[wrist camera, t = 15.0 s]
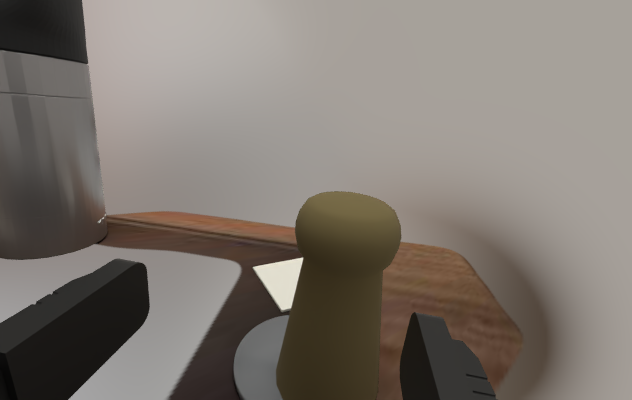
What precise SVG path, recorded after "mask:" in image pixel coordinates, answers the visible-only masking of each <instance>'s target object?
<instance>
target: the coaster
mask: <svg viewBox="0 0 632 400" xmlns="http://www.w3.org/2000/svg"><path fill="white" fill-rule="evenodd" d="M288 319H289V315H286V316H280V317H276V318H273V319H270V320H267V321H265V322H263V323H261V324H259V325H258V326H256V327H255V328H254V329H252V330H251V331H250V332H249V333H248V334H247V335H246V336H245V337H244V338H243V340H242V341H241V343H240V345H239V346H238V349H237V351H236V354H235V358H234V383H235V387H236V391H237V393H238V395H239V397H240V399H241V400H283V399H282V397H281V394H280V392H279V389H278V387H277V385H276V368H277V364H278V360H279V356H280V352H281V347H282V343H283V339H284V335H285V331H286V327H287V323H288Z"/></svg>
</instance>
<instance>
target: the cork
mask: <svg viewBox="0 0 632 400" xmlns="http://www.w3.org/2000/svg"><path fill="white" fill-rule="evenodd" d="M295 234H296V240H297V245H298V249H299V251H300V253H301V254H302V256H303V262H302V266H301V270H300V274H299V278H298V282H297V286H296V290H295V294H294V298H293V302H292V307H291V311H290V315H289V319H288V323H287V327H286V331H285V335H284V339H283V343H282V347H281V352H280V356H279V360H278V364H277V368H276V385H277V387H278V389H279V392H280V394H281V397H282V399H283V400H375V399H376V396H377V393H378V378H379V352H380V327H381V301H382V276H383V270H384V269H385V268H386V267H388V266H389V265H390V264H391V262H392V260H393V258H394V256H395V254H396V253H397V251H398V249H399V245H400V240H401V226H400V223H399V220H398V217H397V215H396V212H395V210H393V209H392V208H391V207H390V206H389V205H387V204H386V203H385V202H383V201H381V200H379V199H377V198H373V197H371V196H367V195H363V194H358V193H353V192H338V191H335V192H324V193H320V194H317V195H315V196H313V197H311V198H309V199H308V200H307V201H306V203H305V204H304V205H303V206H302V208H301V209H300V211H299V214H298V216H297V220H296V226H295Z"/></svg>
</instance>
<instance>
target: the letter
mask: <svg viewBox="0 0 632 400" xmlns="http://www.w3.org/2000/svg"><path fill="white" fill-rule="evenodd" d="M302 262H303V258H299V259H293V260H288V261H283V262H277V263H272V264H266V265H261V266H256V267H253V270H254V271H255V273H256V274H257V276H258V277H259V279H260V280H261V282H262V283H263V285H264V287H265V288H266V290H267V291H268V293H269V294H270V296H271V297H272V299H273V300H274V302H275V303H276V305H277V306H278V308H279V309H280V311H281V312H286V311H289V310H291V307H292V302H293V298H294V294H295V290H296V286H297V282H298V278H299V274H300V270H301V266H302Z"/></svg>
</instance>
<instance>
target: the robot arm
mask: <svg viewBox="0 0 632 400" xmlns="http://www.w3.org/2000/svg"><path fill="white" fill-rule="evenodd" d="M87 64H88V59H87V51H86V39H85V26H84V16H83V7H82V0H0V258H4V259H16V260H17V259H18V260H24V259H38V258H47V257H52V256H58V255H63V254H67V253H71V252H75V251H78V250H81V249H83V248H86V247H89V246H91V245H93V244H95V243H97V242H99V241H100V240H102V239H103V238H104V237H105V236H106V234H107V232H108V231H107V221H106V219H107V217H106V212H105V205H104V194H103V186H102V177H101V169H100V160H99V152H98V143H97V134H96V126H95V118H94V108H93V100H92V91H91V83H90V74H89V66H88V65H87ZM149 307H150V306H149V292H148V280H147V269H146V267H145V265H144V264H143V263H139V262H134V261H128V260H123V259H115V260H112V261H111V262H109V263H107V264H106V265H104V266H102V267H101V268H100V269H98V270H96V271H94V272H93V273H90V274H88V275H86V276H82V277H80V278H77V279H75V280H72V281H70V282H69V283H67V284H65V285H64V286H62V287H60V288H59V289H57V290H55V291H54V292H53V294H52V295H51V294H49V295H47V296H45V297H43V298H42V299H40V300H38V301H37V302H36V304H35V305H33V304H32V305H30V306H28V307H27V308H25V309H23V310H22V311H20V312H18V313H17V314H15V315H14V316H12V317H10V318H8V319H7V320H5V321H3V322H2V323H0V400H68V399H69V398H70V397H71V396H72V395H73V394H74V393H75V392H76V391H77V390H78V389H79V388H80V387H81V386H82V385H83V384H84V383H85V382H86V381H87V380H88V379H89V378H90V377H91V376H92V375H93V374H94V373H95V372H96V371H97V370H98V369H99V368H100V367H101V366H102V365H103V364H104V363H105V362H106V361H107V360H108V359H109V358H110V357H111V356H112V355H113V354H114V353H115V352H116V351H117V350H118V349H119V348H120V347H121V346H122V345H123V344H124V343H125V342H126V341H127V340H128V339H129V338H130V337H131V336H132V335H133V334H134V333H135V332H136V331H137V330H138V329H139V328H140V327H141V326H142V325H143V323H144V322H145V320H146V318H147V316H148V313H149ZM400 382H401V389H402V396H403V400H497V399H496V398H495V396H496V395H495V393H494V391H493V389H492V386H491V384H490V382H488V381H487V376H486V374H485V372H484V370H483V367H482V365H481V363H480V361H479V359H478V358H477V357H476V356H475V354H474V353H473V352H472V351H471V350H470V349H469V348H468V347H467V346H466V344H465V343H464V342H463V341H459V340H454V339H451V336H450V334H449V331H448V329H447V326H446V324H445V321H444V319H443V318H442V317H437V316H432V315H426V314H421V313H415V312H414V313H413V314H412V315H411V318H410V322H409V326H408V330H407V334H406V338H405V342H404V346H403V350H402V354H401V360H400Z"/></svg>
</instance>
